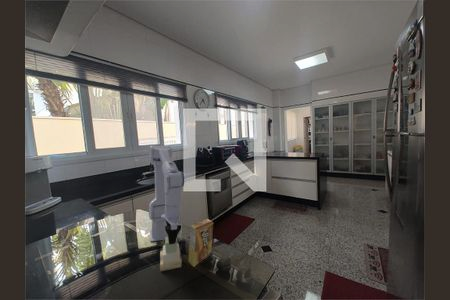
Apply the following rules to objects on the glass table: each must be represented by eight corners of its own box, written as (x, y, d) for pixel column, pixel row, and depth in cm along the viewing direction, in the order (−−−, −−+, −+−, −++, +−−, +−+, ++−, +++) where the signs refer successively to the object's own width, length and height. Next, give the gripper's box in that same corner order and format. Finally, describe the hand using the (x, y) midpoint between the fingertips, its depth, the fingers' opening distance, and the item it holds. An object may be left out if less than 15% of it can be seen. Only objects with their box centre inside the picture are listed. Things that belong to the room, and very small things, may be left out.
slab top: (162, 252, 69) (163, 245, 68) (178, 249, 71) (178, 242, 70) (162, 263, 63) (162, 255, 63) (179, 260, 65) (179, 252, 65)
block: (164, 246, 68) (165, 237, 67) (175, 244, 69) (175, 235, 69) (165, 253, 64) (166, 243, 64) (176, 251, 66) (177, 241, 65)
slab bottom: (160, 258, 69) (160, 251, 69) (178, 254, 72) (179, 248, 72) (160, 272, 62) (160, 264, 62) (181, 267, 65) (181, 260, 65)
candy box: (204, 251, 74) (207, 218, 73) (211, 257, 72) (213, 222, 70) (187, 261, 68) (189, 225, 67) (194, 268, 65) (196, 229, 64)
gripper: (161, 197, 70) (159, 228, 71) (162, 213, 57) (160, 251, 58) (178, 196, 73) (177, 226, 74) (184, 211, 60) (181, 247, 61)
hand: (171, 237), depth 66 cm, fingers open, 7 cm apart
